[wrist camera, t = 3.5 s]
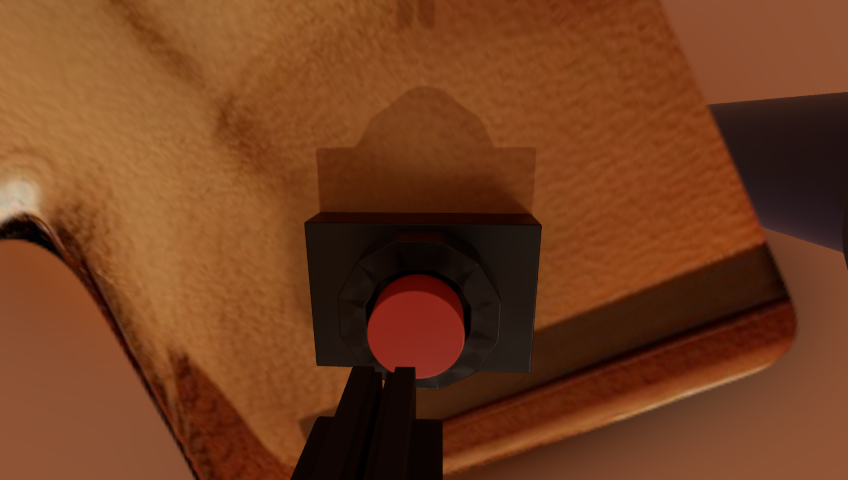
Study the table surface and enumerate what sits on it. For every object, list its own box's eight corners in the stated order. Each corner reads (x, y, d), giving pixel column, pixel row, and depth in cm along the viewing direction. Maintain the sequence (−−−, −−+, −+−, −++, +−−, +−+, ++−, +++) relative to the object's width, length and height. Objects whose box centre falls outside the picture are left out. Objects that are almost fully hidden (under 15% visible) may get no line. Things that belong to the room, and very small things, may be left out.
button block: (531, 213, 18) (553, 235, 15) (522, 348, 20) (539, 399, 17) (319, 211, 19) (287, 232, 15) (329, 342, 21) (302, 390, 17)
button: (464, 274, 16) (466, 291, 14) (462, 355, 17) (463, 380, 15) (373, 272, 16) (364, 289, 14) (376, 352, 17) (368, 377, 15)
